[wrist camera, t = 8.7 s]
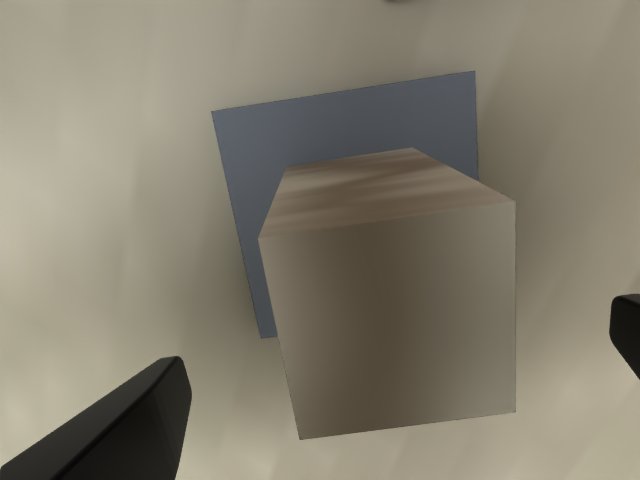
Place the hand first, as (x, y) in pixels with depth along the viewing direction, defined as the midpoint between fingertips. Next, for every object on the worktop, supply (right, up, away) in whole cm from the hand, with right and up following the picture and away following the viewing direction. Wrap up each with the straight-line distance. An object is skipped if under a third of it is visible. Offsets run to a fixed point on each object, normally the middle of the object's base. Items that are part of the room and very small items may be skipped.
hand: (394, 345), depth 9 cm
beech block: (0, +3, +9) cm, 9 cm away
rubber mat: (0, +3, +9) cm, 10 cm away
